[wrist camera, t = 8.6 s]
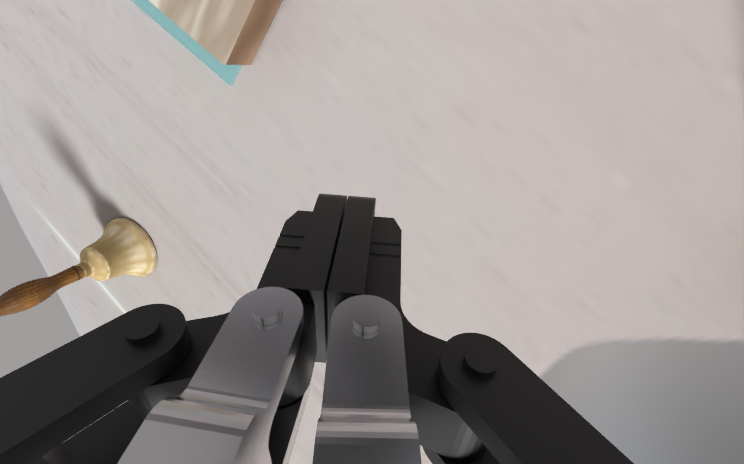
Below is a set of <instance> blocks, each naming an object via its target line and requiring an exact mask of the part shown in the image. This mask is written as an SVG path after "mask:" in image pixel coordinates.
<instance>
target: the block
mask: <svg viewBox="0 0 744 464" xmlns="http://www.w3.org/2000/svg"><path fill="white" fill-rule="evenodd" d="M149 1H150V2H151V3H152V4H153V5H154V6H156V7H157V8H158V9H159V10H160V11H161V12H163V13H164V14H165V15H166V16H167V17H168V18H170V19H171V20H172V21H173V22H174V23H175V24H177V25H178V26H179V27H180V28H181V29H182V30H183V31H185V32H186V33H187V34H188V35H189V36H190V37H192V38H193V39H194V40H195V41H196V42H197V43H199V44H200V45H201V46H202V47H203V48H204V49H206V50H207V51H208V52H209V53H210V54H211V55H212V56H214V57H215V58H216V59H217V60H218V61H219V62H221V63H222V64H223V65H251V63H252V61H253V59H254V57H255V55H256V53H257V51H258V49H259V47H260V45H261V43H262V41H263V39H264V37H265V35H266V33H267V31H268V29H269V27H270V25H271V23H272V21H273V19H274V17H275V15H276V13H277V11H278V9H279V7H280V5H281V3H282V1H283V0H149Z"/></svg>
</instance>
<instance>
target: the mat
mask: <svg viewBox="0 0 744 464" xmlns="http://www.w3.org/2000/svg"><path fill="white" fill-rule="evenodd" d="M131 1H133V2H134V3H135V4H136V5H137V6H138V7H140V8H141V9H142V10H143V11H144V12H145V13H146V14H148V15H149V16H150V17H151V18H152V19H153V20H155V21H156V22H157V23H158V24H159V25H160V26H162V27H163V28H164V29H165V30H166V31H167V32H169V33H170V34H171V35H172V36H173V37H174V38H175V39H177V40H178V41H179V42H180V43H181V44H182V45H184V46H185V47H186V48H187V49H188V50H189V51H191V52H192V53H193V54H194V55H195V56H196V57H198V58H199V59H200V60H201V61H202V62H203V63H205V64H206V65H207V66H208V67H209V68H210V69H211V70H213V71H214V72H215V73H216V74H217V75H218V76H220V77H221V78H222V79H223V80H224V81H225V82H227V83H228V84H229V85H232V84H233V82H234V80H235V78H236V76H237V74H238V72H239V69H240V67H241V65H223V64H222V63H221V62H219V61H218V60H217V59H216V58H215V57H214V56H212V55H211V54H210V53H209V52H208V51H207V50H206V49H204V48H203V47H202V46H201V45H200V44H199V43H197V42H196V41H195V40H194V39H193V38H192V37H190V36H189V35H188V34H187V33H186V32H185V31H183V30H182V29H181V28H180V27H179V26H178V25H177V24H175V23H174V22H173V21H172V20H171V19H170V18H168V17H167V16H166V15H165V14H164V13H163V12H161V11H160V10H159V9H158V8H157V7H156V6H154V5H153V4H152V3H151V2H150V1H149V0H131Z"/></svg>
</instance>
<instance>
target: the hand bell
mask: <svg viewBox="0 0 744 464" xmlns="http://www.w3.org/2000/svg"><path fill="white" fill-rule="evenodd" d="M156 264H157V254H156V250H155V247H154V244H153V242H152V240H151V239H150V237H149V236H148V234H147V233H146V232H145V231H144V229H143V228H142V227H140V226H139V225H138V224H136V223H135V222H133V221H131V220H129V219H126V218H115V219H113V220H111V221H110V222H109V223H108V224H107V225H106V227H105V229H104V233H103V235H102V237H101V238H100V239H98V240H97V241H96V242H94V243H93V244H91V245H89V246H88V247H86V248H84V249H83V250H82V251H81V253H80V264H78V265H76V266H72V267H70V268H68V269H66V270H64V271H62V272H60V273H58V274H56V275H53V276H51V277H47V278H41V279H36V280H32V281H28V282H26V283H23V284H20V285H18V286H16V287H14V288H12V289H10V290H8V291H7V292H5V293H4V294H2V295H1V296H0V316H4V315H9V314H14V313H18V312H21V311H24V310H27V309H29V308H32V307H33V306H35V305H38V304H39V303H41V302H42V301H44V300H46V299H47V298H49V297H50V296H51V295H52V294H53V293H54V292H56V291H57V290H58V289H60V288H61V287H63V286H66V285H68V284H70V283H73V282H75V281H77V280H80V279H82V278H85V277H87V276H90V277H91V278H93V279H95V280H98V281H105V280H108V279H110V278H113V277H116V276H119V275H124V274H130V275H133V276H146V275H149V274H150V273H152V272H153V271H154V269H155V267H156Z"/></svg>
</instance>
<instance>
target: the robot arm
mask: <svg viewBox="0 0 744 464" xmlns="http://www.w3.org/2000/svg"><path fill="white" fill-rule="evenodd" d="M375 201H376V198H368V197H356V196H349V197H348V200H347V196H342V195H330V194H319V196H318V198H317V201H316V204H315V207H314V210H313V212H310V211H297V212H296V213H295V214H294V215H292V216H291V217H290V218H289V219H288V220H287V221H286V222H285V224H284V226H283V229H282V231H281V233H280V237H279V238H278V240H277V243H276V245H275V248H274V250H273V252H272V254H271V257H270V259H269V261H268V264H267V266H266V269H265V271H264V273H263V276H262V278H261V280H260V283H259V285H258V287H257V289H256V290H253V291H251V292H249V293H247V294H245V295H244V296H243V297H241V298H240V299H239V300H238V301H237V302H236V303H235V305H234V306H233V308H232V310H231V311H230V312H229V313H226V314H223V315H218V316H214V317H208V318H202V319H196V320H190V321H186V320H185V317H184V315H183V314H182V312H181V311H180V310H179V309H177V308H175V307H173V306H170V305H166V304H151V305H146V306H142V307H139V308H136V309H133V310H131V311H129V312H127V313H125V314H123V315H121V316H119V317H117V318H115V319H113V320H111V321H110V322H108V323H106V324H104V325H102V326H100V327H98V328H96V329H94V330H92V331H90V332H88V333H86V334H84V335H83V336H81V337H79V338H77V339H75V340H73V341H71V342H69V343H67V344H65V345H63V346H61V347H59V348H57V349H55V350H54V351H52V352H50V353H48V354H46V355H44V356H42V357H40V358H38V359H36V360H34V361H32V362H30V363H28V364H27V365H25V366H23V367H21V368H19V369H17V370H15V371H13V372H11V373H9V374H7V375H5V376H3V377H2V378H0V464H288V463H289V460H290V456H291V453H292V449H293V446H294V443H295V439H296V436H297V433H298V429H299V426H300V422H301V419H302V416H303V412H304V409H305V406H306V402H307V399H308V395H309V384H310V381H311V377H312V372H313V367H314V363H315V362H324V363H326V372H325V381H324V391H323V401H322V410H321V416H320V418H319V420H318V424H317V430H316V438H315V446H314V456H313V464H421V455H420V445H421V446H423V449H424V451H425V453H426V455H427V457H428V458H429V459H430V461H431V462H432V464H634V463H632V462H631V461H630V460H629V459H628V458H627V457H626V456H625V455H624V454H623V453H621V452H620V451H619V450H618V449H617V448H616V447H615V446H614V445H613V444H612V443H610V442H609V441H608V440H607V439H606V438H605V437H604V436H602V434H601V433H600V432H598V431H597V430H596V429H595V428H594V427H593V426H592V425H590V423H589V422H587V421H586V420H585V419H584V418H583V417H582V416H581V415H580V414H579V413H578V412H576V411H575V410H574V409H573V408H572V407H571V406H570V405H569V404H568V403H567V402H565V401H564V400H563V399H562V398H561V397H560V396H559V395H558V394H557V393H556V392H554V391H553V390H552V389H551V388H550V387H549V386H548V385H547V384H546V383H545V382H543V381H542V380H541V379H540V378H539V377H538V376H537V375H536V374H535V373H534V372H533V371H532V370H530V369H529V368H528V367H527V366H526V365H525V364H524V363H523V362H522V361H521V360H519V359H518V358H517V357H516V356H515V355H514V354H513V353H512V352H511V351H510V350H508V349H507V348H506V347H505V346H504V345H503V344H501V343H500V342H498V341H497V340H495V339H493V338H491V337H489V336H486V335H483V334H478V333H463V334H459V335H456V336H454V337H452V338H451V339H449V340H448V341H447V342H446V341H444V340H441V339H438V338H436V337H433V336H430V335H428V334H426V333H423V332H422V331H420V330H418V329H417V328H415V327H414V326H413V325H412V324H411V323H410V322H409V321H408V320H407V319H406V317H405V316H404V314H403V312H402V309H401V304H400V286H401V229H400V228H399V226H398V224H397V223H396V221H395V220H394V218H385V217H375ZM326 360H327V362H326ZM127 400H128V401H127ZM126 401H127V402H126ZM124 402H125V403H124ZM123 403H124V404H123ZM121 404H122V405H121ZM120 405H121V406H120ZM118 406H119V407H118ZM116 407H117V408H116ZM115 408H116V409H115ZM113 409H114V410H113ZM112 410H113V411H112ZM110 411H112V412H110ZM109 412H110V413H109ZM107 413H108V414H107ZM106 414H107V415H106ZM104 415H105V416H104ZM103 416H104V417H103ZM101 417H102V418H101ZM99 418H101V419H99ZM98 419H99V420H98ZM96 420H98V421H96ZM95 421H96V422H95ZM93 422H94V423H93ZM92 423H93V424H92ZM90 424H91V425H90ZM89 425H90V426H89ZM87 426H88V427H87ZM85 427H87V428H85ZM84 428H85V429H84ZM83 429H84V430H83ZM81 430H82V431H81ZM79 431H81V432H79ZM78 432H79V433H78ZM76 433H77V434H76ZM75 434H76V435H75ZM73 435H74V436H73ZM72 436H73V437H72ZM70 437H71V438H70ZM69 438H70V439H69ZM67 439H69V440H67ZM66 440H67V441H66ZM64 441H65V442H64Z"/></svg>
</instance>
